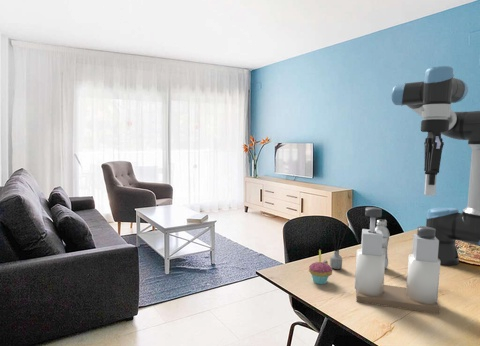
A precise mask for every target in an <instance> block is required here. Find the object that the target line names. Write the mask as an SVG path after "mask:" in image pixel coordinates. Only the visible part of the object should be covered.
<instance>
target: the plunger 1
mask: <svg viewBox="0 0 480 346" xmlns="http://www.w3.org/2000/svg"><path fill="white" fill-rule="evenodd" d="M382 211H383V209H382V208H380V207H375V206H366V207H365V213H364V214H365V215H364V216H365V217H368V218H369V222H370V223H369V230H370V233H375V227H376V221H377V220H376V219H377V218H382V213H383V212H382Z"/></svg>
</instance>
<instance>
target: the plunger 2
mask: <svg viewBox="0 0 480 346" xmlns="http://www.w3.org/2000/svg"><path fill="white" fill-rule="evenodd" d="M435 232H436V229H434V228H431V227H426V225H425V226H420V225H419V226H418V227H417V231H416V234H417V235H418V236H420V237H423V238H435Z"/></svg>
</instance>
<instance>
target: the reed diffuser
mask: <svg viewBox="0 0 480 346" xmlns="http://www.w3.org/2000/svg"><path fill="white" fill-rule="evenodd" d="M342 223H343V222H342V220H341V221H340V228H339V233H338V235H339V236H338V240H337V242H336V240H335V239H336V233H335V231H333V233H332V227H331V223H330V220H329V219H328V226H329V229H330V233H331V238H332V242H333V246H334V249H333V251H334V252H333V255H331V256H330V261H329V262H328V260H327V259H325V260H324V261H322V262H323V263H326V264H328V265H330V267H331V268H332V269H336V270H338V269H342V268H343V257H342V256H341V255H340V249H341V246H342V243H343V241H344V238H345V237H346V233H347V231H348V227H349V225H350V223H348V224H347V227H346V230H345V232H344V234H343V238H342V239H341V242H340V237H341V229H342ZM332 226H333V230H335V224H332ZM333 235H334V236H333ZM336 243H337V244H336ZM339 243H340V246H339Z"/></svg>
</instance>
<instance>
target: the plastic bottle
mask: <svg viewBox="0 0 480 346" xmlns="http://www.w3.org/2000/svg"><path fill="white" fill-rule="evenodd" d="M387 223H388V221H387V220H386V219H377V220H376V222H375V230H380V231H381V232H382V234H383V242H382V252H384V253H385V254H386V256H385V270H386V269H387V268H388V267H389V257H388V246H389V240H390V231H389V229H388V228H387V226H388V225H387Z"/></svg>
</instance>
